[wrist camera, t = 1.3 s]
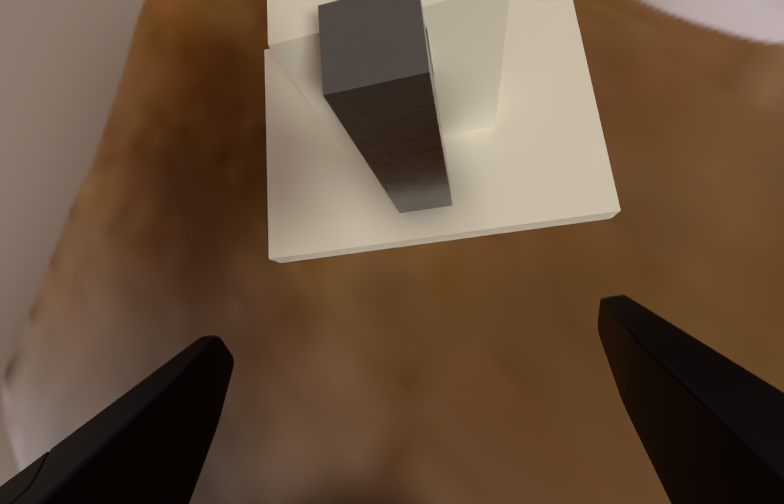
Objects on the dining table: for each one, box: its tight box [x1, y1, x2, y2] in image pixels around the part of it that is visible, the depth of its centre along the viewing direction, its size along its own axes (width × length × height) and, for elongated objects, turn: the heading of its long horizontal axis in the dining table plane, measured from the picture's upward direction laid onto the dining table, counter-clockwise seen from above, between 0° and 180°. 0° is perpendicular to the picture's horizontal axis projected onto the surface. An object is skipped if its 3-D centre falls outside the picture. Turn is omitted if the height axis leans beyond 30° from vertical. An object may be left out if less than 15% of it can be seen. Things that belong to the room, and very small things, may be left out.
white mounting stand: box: [264, 0, 621, 263], centre depth 19 cm, size 15×20×11 cm
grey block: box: [318, 0, 452, 213], centre depth 17 cm, size 12×3×12 cm, turn 5°
